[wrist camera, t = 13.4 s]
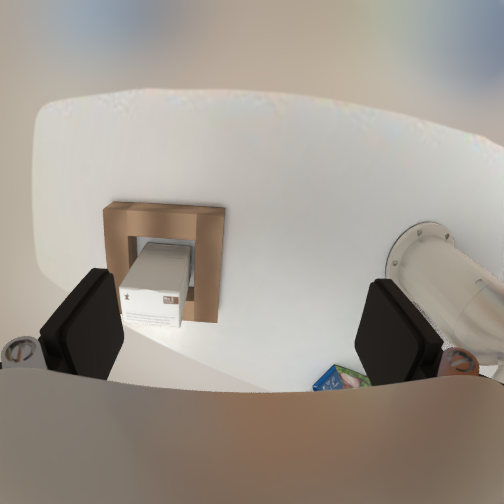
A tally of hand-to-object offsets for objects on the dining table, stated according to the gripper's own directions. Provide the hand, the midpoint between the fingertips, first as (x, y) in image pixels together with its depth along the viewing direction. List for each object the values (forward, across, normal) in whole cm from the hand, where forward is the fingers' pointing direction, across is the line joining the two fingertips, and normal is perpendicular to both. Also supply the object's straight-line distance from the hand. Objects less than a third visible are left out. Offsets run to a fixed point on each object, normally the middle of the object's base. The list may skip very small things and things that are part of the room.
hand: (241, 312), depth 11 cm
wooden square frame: (+27, +9, +10) cm, 30 cm away
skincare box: (+27, +8, +10) cm, 30 cm away
